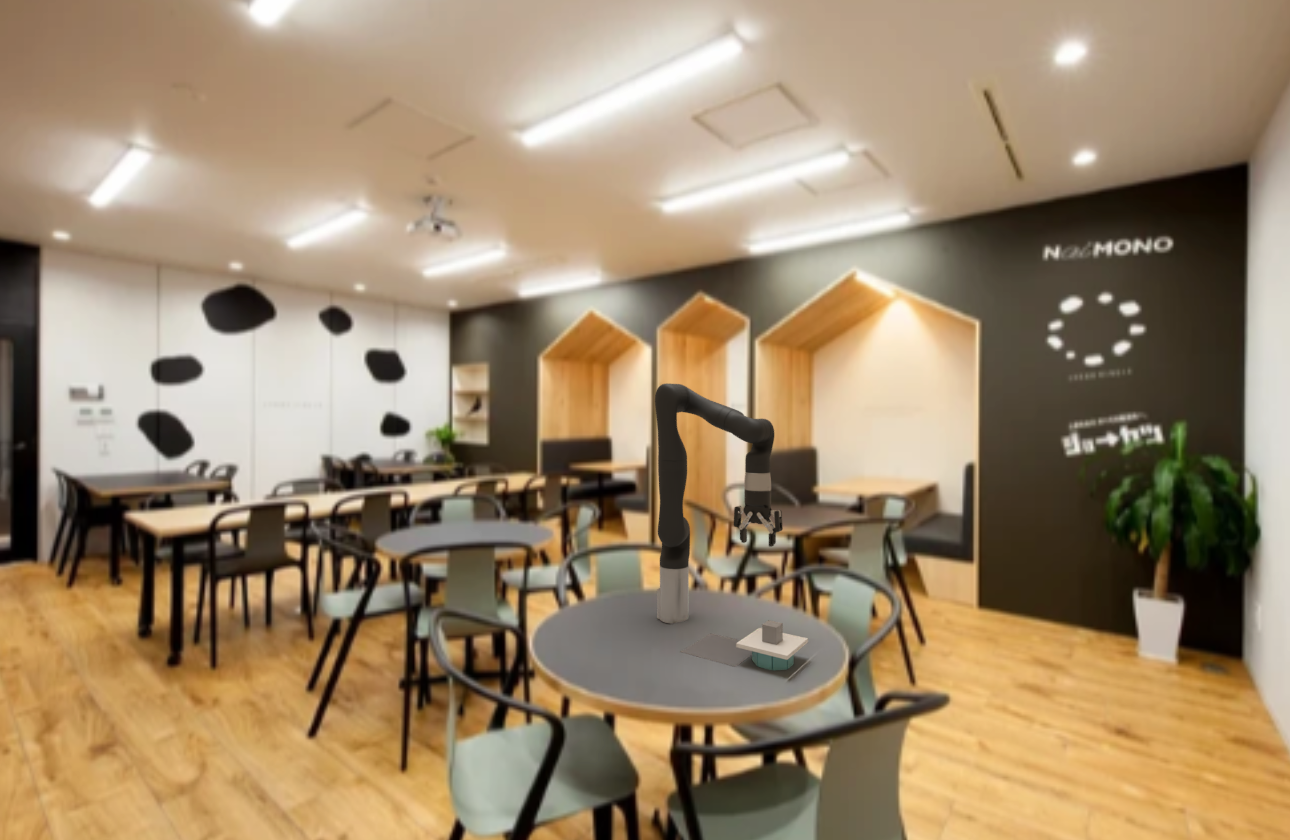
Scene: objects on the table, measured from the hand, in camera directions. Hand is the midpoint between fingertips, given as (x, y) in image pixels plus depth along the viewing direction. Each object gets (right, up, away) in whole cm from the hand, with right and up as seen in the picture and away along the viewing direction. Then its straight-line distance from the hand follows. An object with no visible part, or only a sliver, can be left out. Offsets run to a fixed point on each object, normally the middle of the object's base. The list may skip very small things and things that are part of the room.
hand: (757, 544), depth 175 cm
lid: (+1, -23, -15) cm, 28 cm away
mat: (-11, -28, -6) cm, 31 cm away
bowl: (+1, -28, -15) cm, 32 cm away
